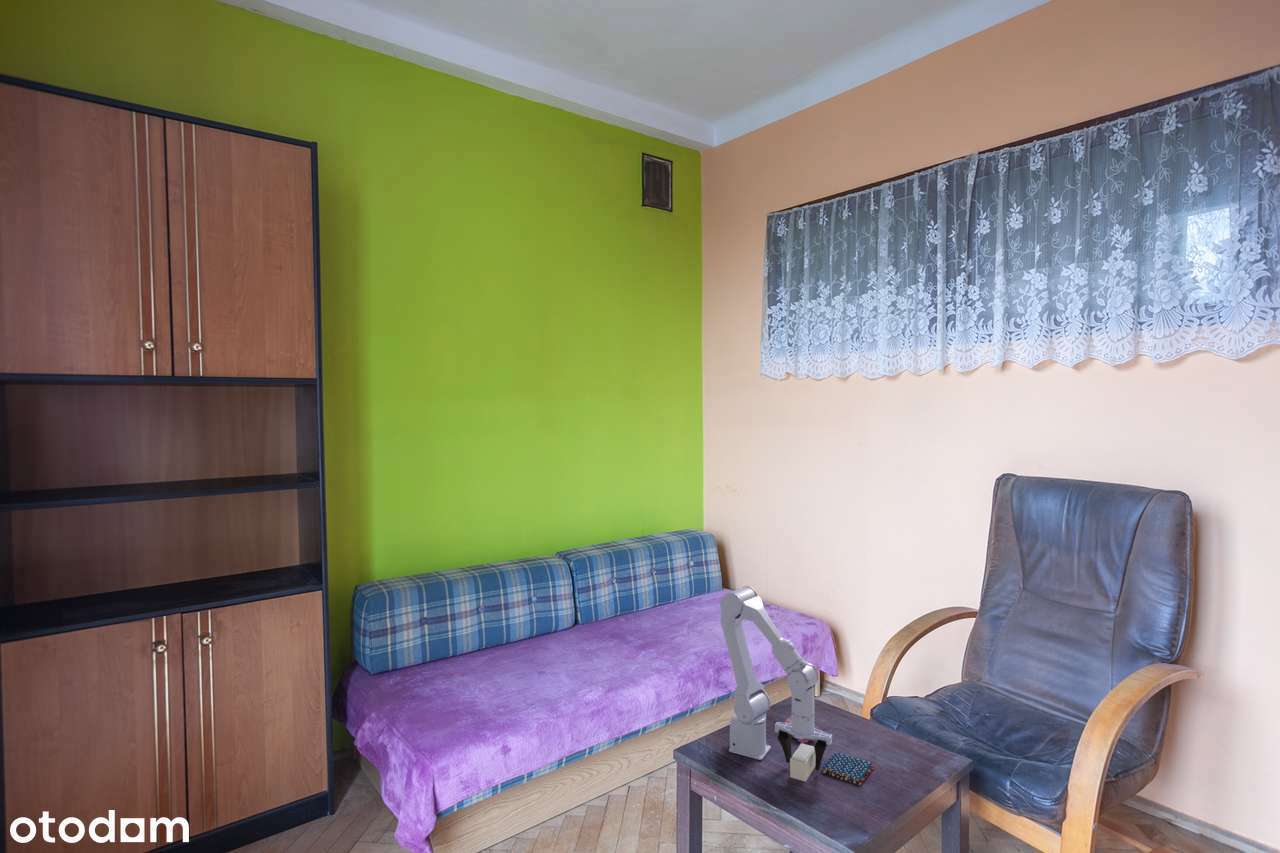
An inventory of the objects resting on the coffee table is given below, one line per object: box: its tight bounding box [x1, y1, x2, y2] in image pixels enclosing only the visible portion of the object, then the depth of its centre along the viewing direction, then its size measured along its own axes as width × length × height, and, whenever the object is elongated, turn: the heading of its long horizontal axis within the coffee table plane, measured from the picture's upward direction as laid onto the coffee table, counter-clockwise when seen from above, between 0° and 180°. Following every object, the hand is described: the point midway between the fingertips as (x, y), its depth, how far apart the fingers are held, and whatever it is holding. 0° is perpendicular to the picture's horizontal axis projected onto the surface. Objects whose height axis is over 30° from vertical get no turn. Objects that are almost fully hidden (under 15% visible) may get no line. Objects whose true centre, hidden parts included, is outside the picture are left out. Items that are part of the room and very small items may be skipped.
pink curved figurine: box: [784, 715, 820, 744], centre depth 191 cm, size 10×5×7 cm
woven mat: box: [821, 752, 874, 786], centre depth 172 cm, size 10×11×2 cm
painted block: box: [789, 743, 816, 782], centre depth 172 cm, size 4×9×5 cm, turn 149°
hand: (803, 764), depth 172 cm, fingers open, 7 cm apart
